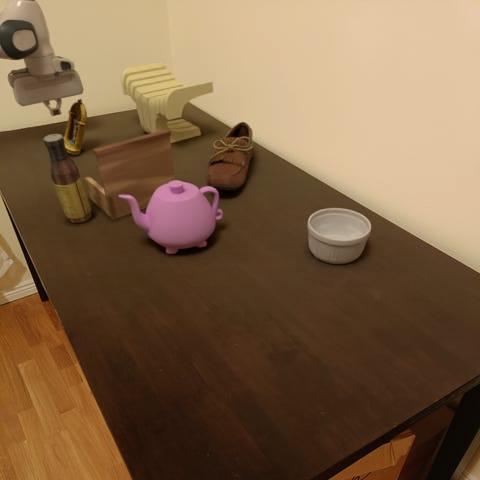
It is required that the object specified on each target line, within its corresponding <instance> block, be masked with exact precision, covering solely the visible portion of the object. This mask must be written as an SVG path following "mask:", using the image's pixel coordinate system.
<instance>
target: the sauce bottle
mask: <svg viewBox="0 0 480 480" xmlns="http://www.w3.org/2000/svg"><path fill="white" fill-rule="evenodd" d="M63 137H64V136H63V135H62V134H59V133H53V134H47V135H46V136H44V137H43V142H44V146H45V147H46V148H47V152H48V154H49V159H50V176H51V180H52V183H53V186H54V188H55V191H56V194H57V196H58V199H59V202H60V204H61V208H62V210H63V213H64V216H65V217H66V220H67V221H68V222H69V223H71V224H81V223H86V222H88V221H89V220H90V219H91V218H92V216H93V212H92V207H91V205H90V201H89V198H88V195H87V193H86V188H85V185H84V183H83V180H82V176H81V174H80V172H79V169H78V166H77V165H76V162H75V160H73V158H71V156H70V155H69V153H68V152H67V151H66V148H65V145H64V139H63Z"/></svg>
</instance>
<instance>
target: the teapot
mask: <svg viewBox="0 0 480 480" xmlns="http://www.w3.org/2000/svg"><path fill="white" fill-rule="evenodd" d="M206 193H212V194H213V202H212V204H210V202H209V200H208V199H207V197H206V196H205V194H206ZM118 196H119V197H121V198H123V199H124V200H126V201H127V202H128V203H129V205H130V207H131V211H132V213H131V214H132V219H133V221H134V223H135V224H136V226H137V227H138V228H139V229H141V230H142V231H144V232H146V234H147V235H148V237H149V238H150V239H151V240H153V241H154V242H155V243H156V244H158V245H160V246H162V247H164V248H165V252H166V253H167V254H170V255H172V254H173V255H175V254H176V253H177V252H179V250H180V249H181V250H182V249H189V248H193V247H197V248H203V247H206V246H207V244H208V242H207V241H206V240H208V239H209V237H210V236H211V235H212V234H213V233H214V230H215V228H216V221H219V220H221V219H222V218H223V216H224V213H223V209H221V208H218V206H219V201H220V195H219V190H218V189H215V188H213V187H210V186H209V185H207V186H206V185H205V186H202V187H200V188H199V187H197V186H196V185H195V184H193V183H190V182H186V181H182V180H178V179H175V180H174V181H171V182H169V183H168V184H164V185H162V186H160V187H159V188H158V189H156V191H155V192H154V194H153V196H152V198H151V200H150V202H149V204H148V207H147V208H146V209H145V213H143V212H142V210H140V209H139V206H138V203H137V201H136V199H135V198H134V197H132V196H130V195H118Z"/></svg>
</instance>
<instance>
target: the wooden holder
mask: <svg viewBox="0 0 480 480" xmlns="http://www.w3.org/2000/svg"><path fill="white" fill-rule="evenodd" d="M170 136H171V131H169V130H167V129H166V130H162V131H158V132H155V133H151V134H149V133H147V134H143V135H140V136H136V137H133V138H129V139H126V140H121V141H118V142H114V143H110V144H107V145H103V146H99V147H96V148H93V149H92V152H93V154H94V155H95V158H96V163H97V167H98V171H99V174H100V179H101V182H102V186H101V185H100V184H99V183H98V182H97V181H96V180H94V179H93V177H91V176H87V177H86V176H85V177H84V179H85V183H86V188H87V190H88V194H89V197H90V198H89V199H90V200H91V201H92V202H93V203H94V204H95V205H96V206H98V208H99V209H101V211H103V212H104V213H105V214H106V215H107V216H108V217H109V218H110V219H111V220H112V221H113V220H117V219H119V218H123V217H124V216H125V217H126V216H128V215H131V214H132V211H131V207H130V205H129V203H128V202H127V201H126V200H124V199H123V198H121V197H119V196H118V195H130V196H132V197H134V198H135V199H136V201H137V203H138V206H139V209H140V211H142V210H146V209H147V207H148V204H149V202H150V200H151V198H152V196H153V194H154V192H155V191H156V189H158V188H159V187H160V186H162V185H164V184H168V183H169V182H171V181H174V180H176V176H175V168H174V167H175V166H174V159H173V150H172V143H171V141H170Z"/></svg>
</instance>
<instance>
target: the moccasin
mask: <svg viewBox="0 0 480 480" xmlns="http://www.w3.org/2000/svg"><path fill="white" fill-rule="evenodd" d="M253 136H254V132H253V129H252V128H251V127H250V125H249V124H248V123H247V122H245V121H241V122H239V123H237V124H235V125H233V127H232V128H231V129H229V131H228V132H227V133H226V135H225V136H224V137H223V139H217V140H215V141H214V142H213V145H212V146H213V148H214V149H215V150H214V151H213V152H214V154H213V155H212V156H211V157H210V158H209V160H207V161H208V162H207V165H208V166H207V169H206V175H205V178H206V183H207V186H210V187H213V188H215V189H216V190H217V191H219V190H220V191H236V190H238V189H240V188H241V187H242V186H243V185H244V184H245V183H246V178H247V174H248V170H249V166H250V160H251V159H252V158H253V156H254V154H255V153H254V148H255V147H254V140H253Z"/></svg>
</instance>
